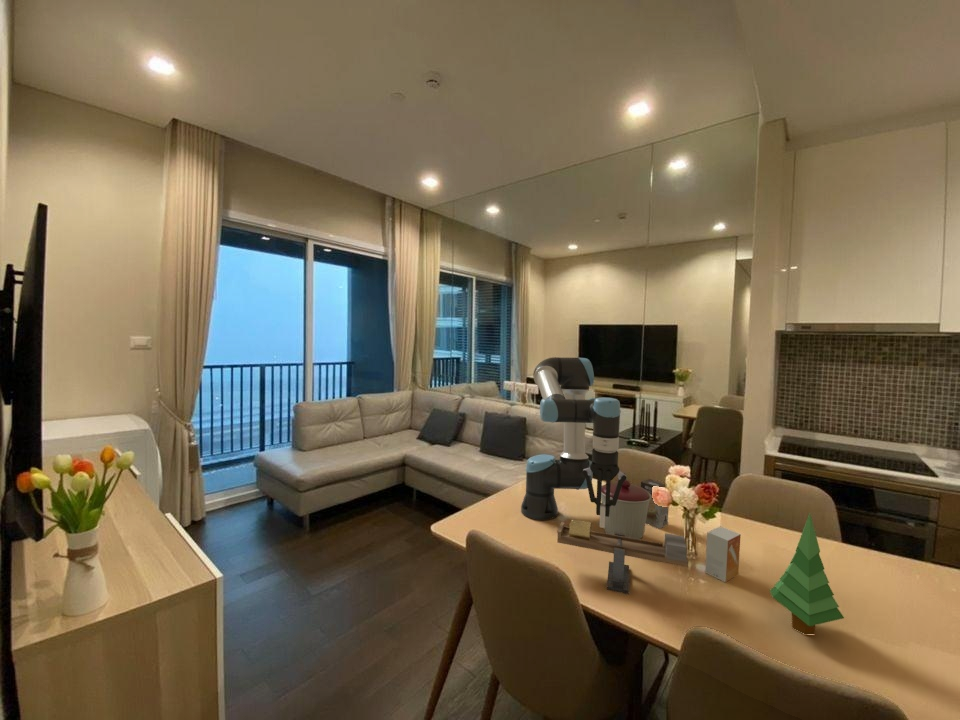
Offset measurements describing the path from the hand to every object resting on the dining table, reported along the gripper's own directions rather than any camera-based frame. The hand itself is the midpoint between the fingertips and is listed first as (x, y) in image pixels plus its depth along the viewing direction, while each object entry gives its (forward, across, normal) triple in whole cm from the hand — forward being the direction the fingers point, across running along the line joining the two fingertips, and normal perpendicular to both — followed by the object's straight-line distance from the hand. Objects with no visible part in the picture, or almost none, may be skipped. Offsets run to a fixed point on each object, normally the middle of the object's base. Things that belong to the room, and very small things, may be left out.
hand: (602, 525), depth 122 cm
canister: (+16, +6, +29) cm, 33 cm away
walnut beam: (+5, +5, 0) cm, 7 cm away
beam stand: (+15, +5, 0) cm, 16 cm away
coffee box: (+16, +17, +45) cm, 50 cm away
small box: (+16, +35, +15) cm, 41 cm away
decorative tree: (+15, +49, -5) cm, 52 cm away
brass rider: (+5, -6, 0) cm, 8 cm away
